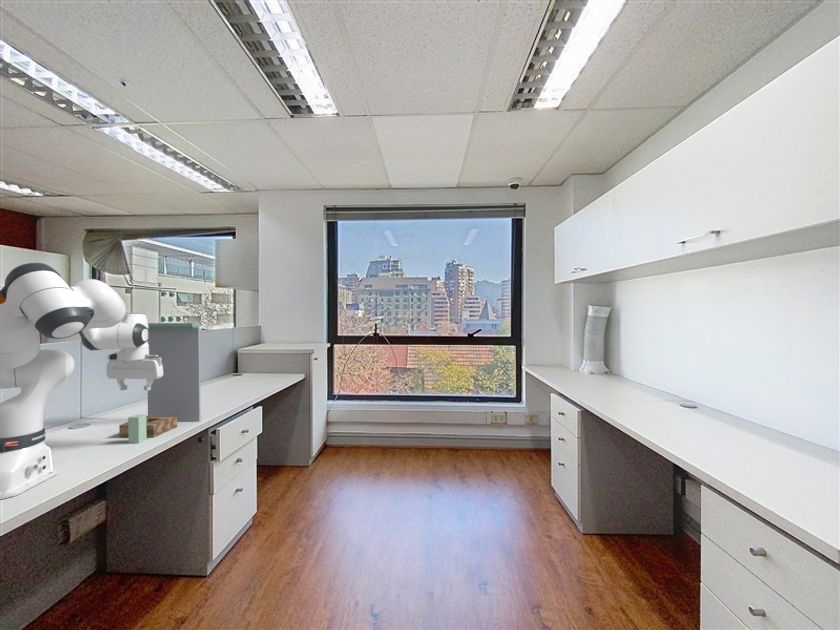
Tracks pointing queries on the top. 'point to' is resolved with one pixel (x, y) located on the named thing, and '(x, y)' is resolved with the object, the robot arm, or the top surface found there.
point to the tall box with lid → (176, 371)
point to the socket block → (152, 426)
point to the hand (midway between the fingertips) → (135, 390)
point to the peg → (137, 428)
